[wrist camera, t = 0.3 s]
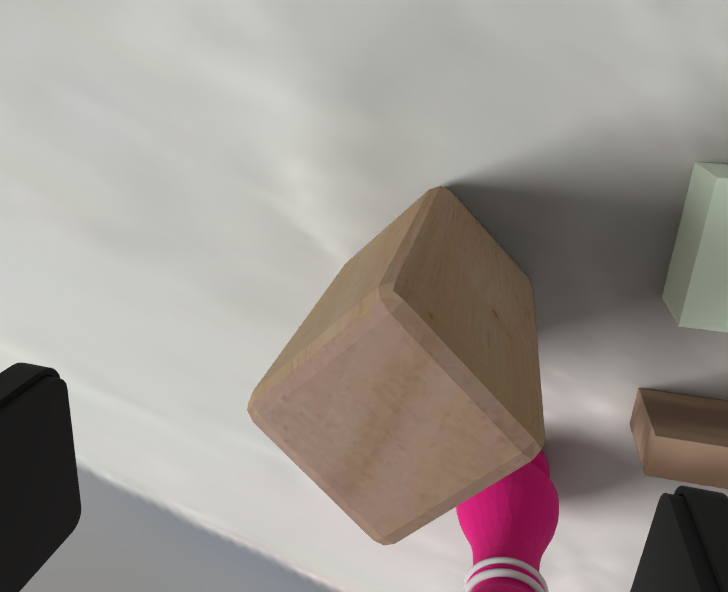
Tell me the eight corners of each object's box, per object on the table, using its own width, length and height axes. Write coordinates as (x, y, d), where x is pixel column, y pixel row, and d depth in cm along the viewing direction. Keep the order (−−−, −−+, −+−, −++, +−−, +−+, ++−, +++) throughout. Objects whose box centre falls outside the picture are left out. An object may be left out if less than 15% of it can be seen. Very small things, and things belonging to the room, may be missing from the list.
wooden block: (538, 284, 44) (557, 457, 26) (430, 364, 49) (382, 561, 30) (442, 176, 43) (391, 280, 25) (339, 267, 47) (231, 413, 29)
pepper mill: (523, 412, 48) (529, 639, 30) (573, 483, 50) (608, 741, 32) (442, 450, 51) (404, 679, 33) (492, 517, 52) (481, 772, 34)
